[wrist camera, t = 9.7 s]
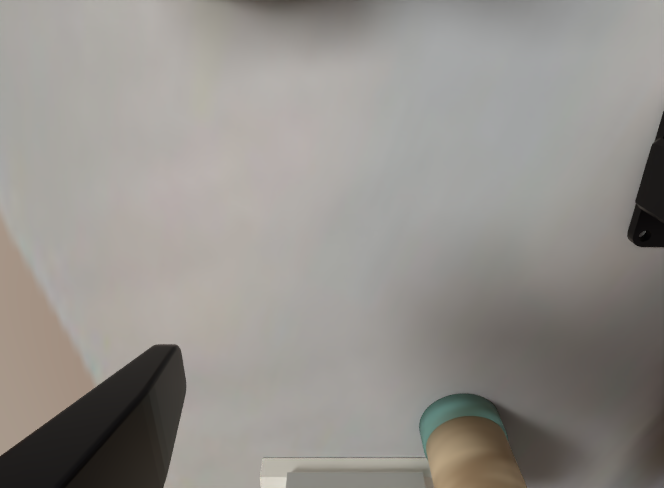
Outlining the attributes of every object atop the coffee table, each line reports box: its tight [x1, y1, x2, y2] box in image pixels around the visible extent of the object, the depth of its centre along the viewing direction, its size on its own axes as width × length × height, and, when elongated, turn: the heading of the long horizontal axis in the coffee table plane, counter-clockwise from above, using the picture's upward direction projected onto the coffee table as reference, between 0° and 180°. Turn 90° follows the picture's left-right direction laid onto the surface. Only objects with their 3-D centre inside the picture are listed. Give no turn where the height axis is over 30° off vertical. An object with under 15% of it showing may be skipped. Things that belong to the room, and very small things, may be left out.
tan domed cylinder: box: [419, 394, 527, 488], centre depth 22 cm, size 4×4×7 cm
